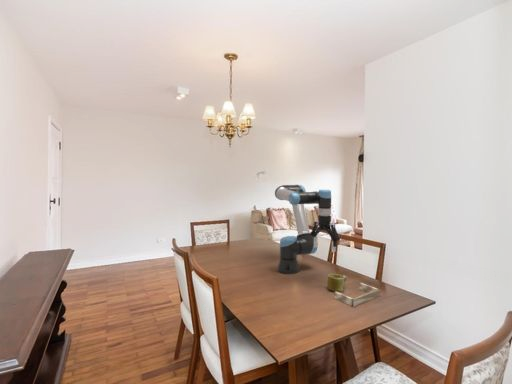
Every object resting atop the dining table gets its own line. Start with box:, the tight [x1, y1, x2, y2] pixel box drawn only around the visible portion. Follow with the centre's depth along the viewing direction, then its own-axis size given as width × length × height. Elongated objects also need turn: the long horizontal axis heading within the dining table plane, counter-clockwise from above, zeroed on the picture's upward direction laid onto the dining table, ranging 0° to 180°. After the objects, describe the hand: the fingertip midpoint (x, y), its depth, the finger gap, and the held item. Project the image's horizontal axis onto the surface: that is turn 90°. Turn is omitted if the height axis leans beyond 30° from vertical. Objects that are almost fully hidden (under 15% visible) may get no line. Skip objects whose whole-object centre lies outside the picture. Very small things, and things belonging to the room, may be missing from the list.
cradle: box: [333, 282, 381, 308], centre depth 150 cm, size 12×22×4 cm, turn 123°
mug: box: [327, 273, 348, 293], centre depth 160 cm, size 12×10×10 cm
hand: (324, 249), depth 170 cm, fingers open, 13 cm apart
